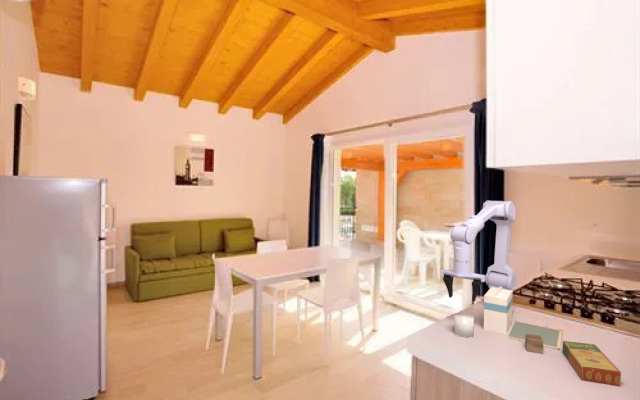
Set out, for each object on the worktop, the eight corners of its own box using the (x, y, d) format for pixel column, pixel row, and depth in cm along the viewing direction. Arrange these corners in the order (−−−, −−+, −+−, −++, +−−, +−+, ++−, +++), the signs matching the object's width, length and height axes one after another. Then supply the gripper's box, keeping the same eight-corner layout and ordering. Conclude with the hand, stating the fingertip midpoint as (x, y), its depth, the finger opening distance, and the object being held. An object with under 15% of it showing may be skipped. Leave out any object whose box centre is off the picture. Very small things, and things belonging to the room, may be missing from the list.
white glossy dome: (457, 328, 119) (457, 312, 119) (475, 333, 116) (475, 315, 115) (451, 334, 114) (452, 317, 114) (471, 339, 111) (471, 321, 111)
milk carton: (490, 318, 128) (491, 283, 128) (512, 323, 124) (512, 287, 123) (483, 329, 119) (483, 292, 118) (506, 334, 114) (507, 295, 114)
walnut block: (525, 346, 106) (525, 333, 106) (540, 348, 105) (540, 335, 105) (527, 351, 103) (527, 338, 102) (543, 354, 101) (543, 341, 101)
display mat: (515, 321, 125) (515, 320, 125) (562, 330, 117) (562, 330, 117) (507, 337, 112) (507, 337, 112) (559, 350, 103) (559, 349, 103)
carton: (580, 381, 87) (581, 365, 87) (561, 353, 102) (561, 339, 102) (621, 388, 84) (621, 371, 84) (595, 357, 99) (595, 343, 99)
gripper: (437, 259, 120) (437, 297, 121) (482, 265, 112) (482, 306, 112) (444, 256, 126) (443, 292, 126) (487, 261, 117) (486, 300, 118)
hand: (462, 298), depth 120 cm, fingers open, 7 cm apart
